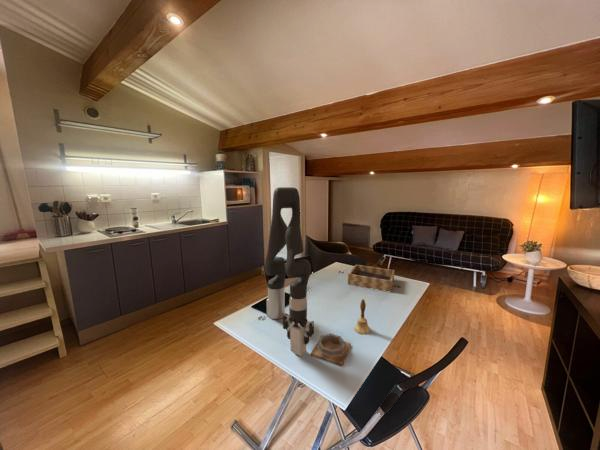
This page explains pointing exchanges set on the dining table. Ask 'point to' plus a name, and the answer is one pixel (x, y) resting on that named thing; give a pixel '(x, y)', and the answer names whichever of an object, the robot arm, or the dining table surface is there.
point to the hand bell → (362, 321)
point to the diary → (372, 275)
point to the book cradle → (370, 281)
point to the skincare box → (297, 341)
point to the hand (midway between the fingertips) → (298, 340)
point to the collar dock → (331, 349)
